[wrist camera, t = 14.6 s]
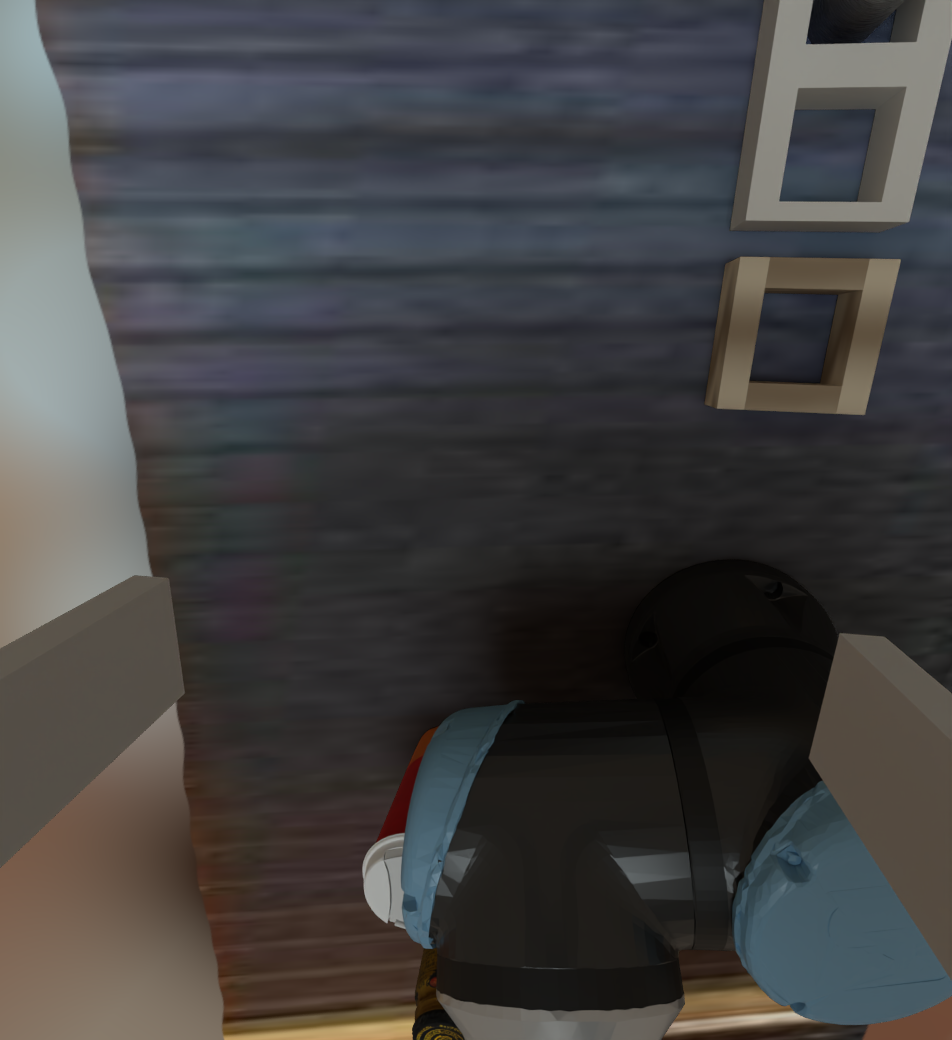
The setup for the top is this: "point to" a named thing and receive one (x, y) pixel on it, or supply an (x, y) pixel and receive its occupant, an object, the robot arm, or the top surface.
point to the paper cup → (392, 847)
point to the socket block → (849, 344)
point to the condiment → (431, 1005)
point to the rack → (841, 85)
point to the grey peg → (847, 19)
